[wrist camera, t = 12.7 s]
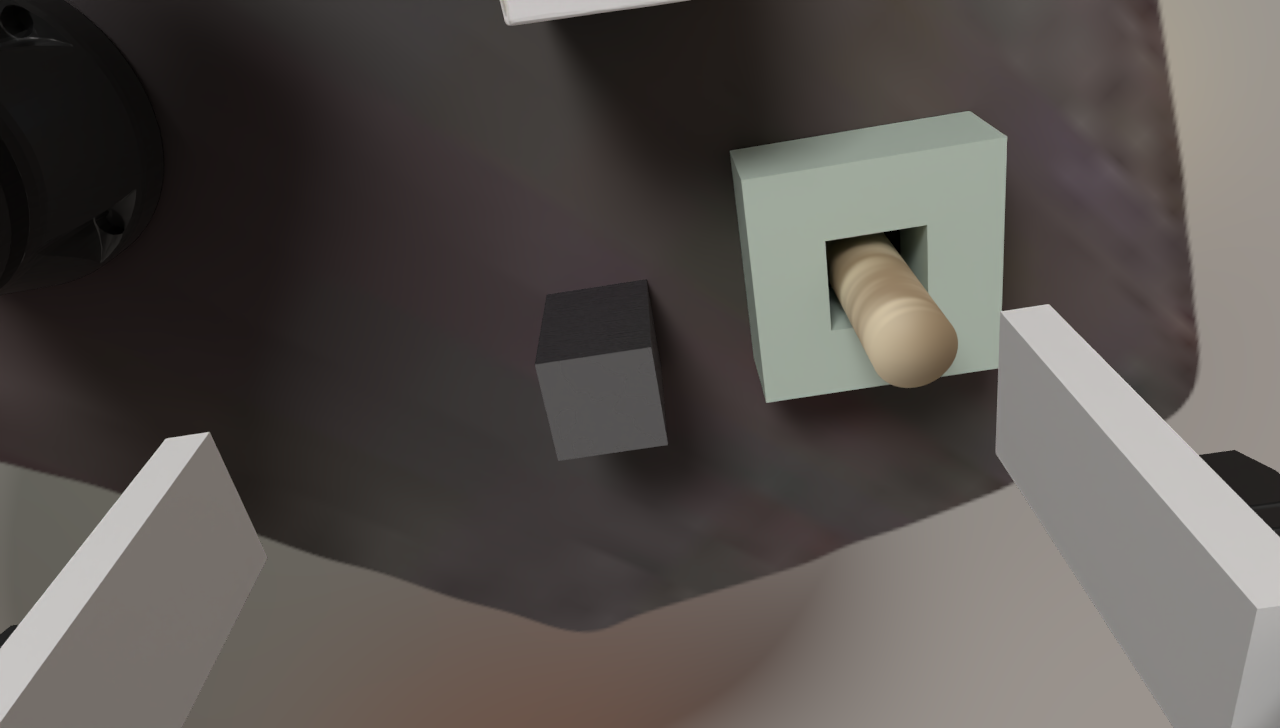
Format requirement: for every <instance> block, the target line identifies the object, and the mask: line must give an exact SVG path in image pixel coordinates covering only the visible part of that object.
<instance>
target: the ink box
mask: <svg viewBox="0 0 1280 728" xmlns="http://www.w3.org/2000/svg"><path fill="white" fill-rule="evenodd" d="M682 1H689V0H500V3H501V7H502V11H503V15H504V20H505V22H506V24H507V25H509V26H512V25H520V24H528V23H535V22H542V21H549V20H556V19H564V18H571V17H577V16H584V15H591V14H598V13H605V12H611V11H619V10H627V9H635V8H642V7H649V6H656V5H662V4H669V3H675V2H682Z"/></svg>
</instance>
